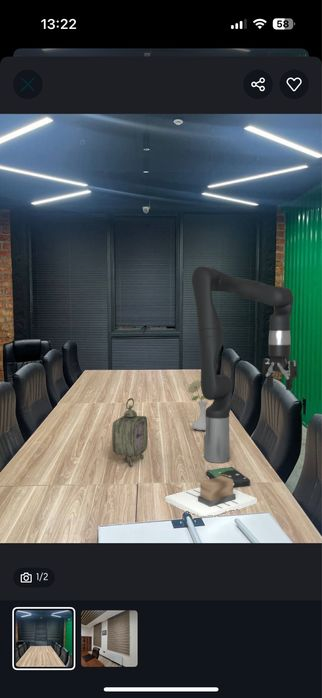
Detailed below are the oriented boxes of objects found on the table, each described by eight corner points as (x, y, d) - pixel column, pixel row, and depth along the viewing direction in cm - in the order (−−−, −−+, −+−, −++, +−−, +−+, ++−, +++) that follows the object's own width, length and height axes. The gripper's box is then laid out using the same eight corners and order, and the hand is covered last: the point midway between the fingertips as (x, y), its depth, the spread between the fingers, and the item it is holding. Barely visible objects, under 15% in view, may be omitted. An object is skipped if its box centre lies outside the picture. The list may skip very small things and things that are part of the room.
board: (165, 501, 153) (165, 496, 153) (216, 487, 166) (216, 482, 165) (203, 520, 139) (203, 515, 139) (257, 503, 151) (257, 498, 151)
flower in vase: (208, 426, 255) (208, 377, 253) (218, 431, 244) (218, 380, 242) (184, 428, 251) (184, 378, 249) (193, 433, 240) (193, 381, 238)
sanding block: (210, 507, 145) (210, 486, 144) (198, 501, 149) (197, 481, 149) (235, 499, 150) (235, 479, 150) (222, 494, 155) (222, 475, 154)
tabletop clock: (133, 468, 186) (132, 402, 184) (111, 466, 189) (110, 400, 187) (147, 458, 199) (147, 395, 198) (127, 456, 203) (126, 394, 201)
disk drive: (250, 487, 166) (232, 473, 181) (250, 479, 166) (232, 466, 180) (221, 491, 163) (205, 476, 178) (221, 483, 163) (205, 468, 177)
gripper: (302, 343, 175) (302, 389, 176) (271, 342, 186) (271, 385, 187) (288, 344, 170) (287, 392, 171) (257, 342, 182) (257, 387, 183)
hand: (279, 388), depth 179 cm, fingers open, 8 cm apart
